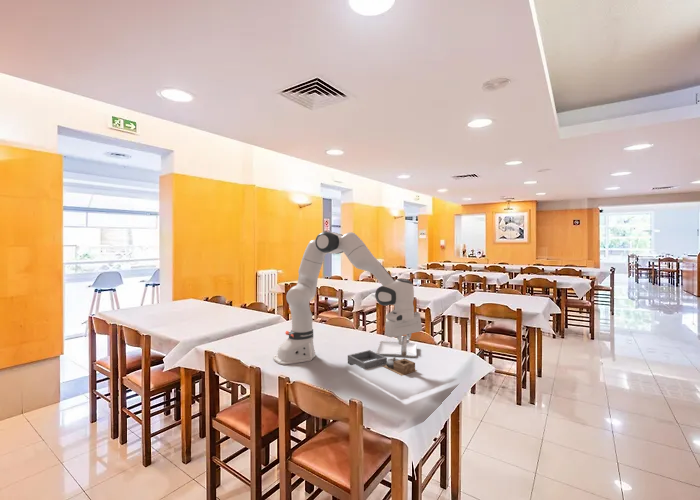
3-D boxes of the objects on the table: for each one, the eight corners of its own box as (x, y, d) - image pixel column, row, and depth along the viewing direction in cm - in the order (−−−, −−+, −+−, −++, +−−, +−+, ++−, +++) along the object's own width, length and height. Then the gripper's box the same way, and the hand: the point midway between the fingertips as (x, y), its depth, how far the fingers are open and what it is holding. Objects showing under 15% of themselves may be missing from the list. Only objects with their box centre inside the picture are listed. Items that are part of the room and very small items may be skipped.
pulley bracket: (401, 378, 151) (401, 366, 151) (381, 368, 163) (381, 357, 162) (417, 373, 156) (417, 362, 156) (396, 364, 168) (396, 353, 168)
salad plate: (416, 361, 173) (416, 355, 173) (375, 359, 177) (375, 352, 177) (416, 348, 194) (416, 342, 194) (380, 346, 198) (380, 340, 198)
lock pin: (403, 356, 155) (403, 337, 154) (400, 355, 157) (400, 336, 156) (407, 355, 156) (407, 336, 156) (404, 354, 158) (404, 335, 158)
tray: (364, 372, 159) (364, 363, 159) (347, 363, 171) (347, 355, 170) (386, 365, 167) (386, 357, 167) (369, 357, 178) (369, 350, 178)
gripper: (415, 310, 164) (415, 338, 165) (383, 315, 153) (382, 345, 153) (424, 312, 159) (424, 341, 159) (392, 318, 147) (392, 349, 148)
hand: (403, 343), depth 156 cm, fingers closed on lock pin, 2 cm apart
